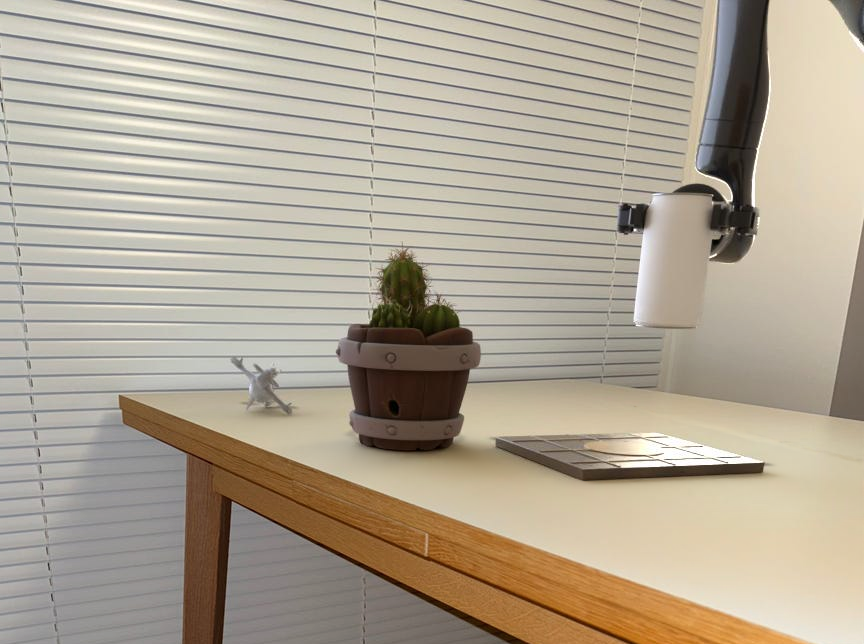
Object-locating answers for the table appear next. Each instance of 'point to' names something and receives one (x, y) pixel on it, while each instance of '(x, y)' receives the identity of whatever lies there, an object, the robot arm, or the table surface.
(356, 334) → the flowerpot
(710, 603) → the table surface
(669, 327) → the can
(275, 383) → the spiky grey figurine
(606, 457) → the board
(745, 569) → the table surface
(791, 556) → the table surface
